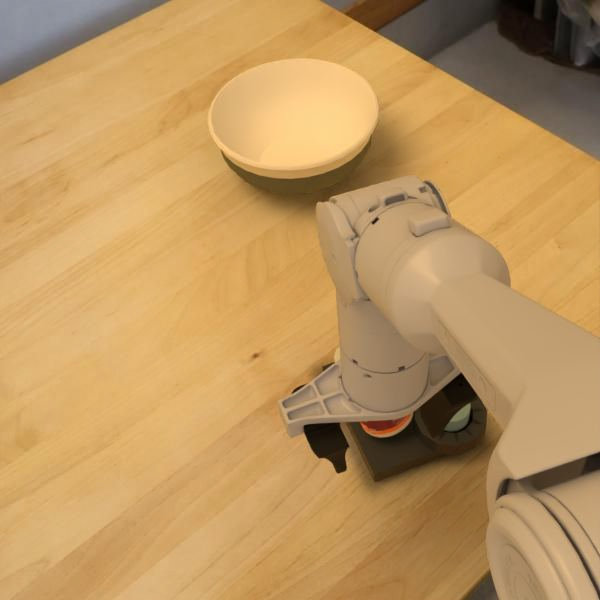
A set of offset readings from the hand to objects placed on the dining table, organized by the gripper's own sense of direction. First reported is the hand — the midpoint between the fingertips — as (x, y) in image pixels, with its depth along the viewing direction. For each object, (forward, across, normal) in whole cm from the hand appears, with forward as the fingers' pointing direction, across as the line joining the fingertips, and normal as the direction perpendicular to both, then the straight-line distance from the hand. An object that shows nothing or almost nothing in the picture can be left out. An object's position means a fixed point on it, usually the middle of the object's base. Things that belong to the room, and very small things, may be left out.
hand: (384, 443), depth 64 cm
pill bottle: (+8, -3, -6) cm, 10 cm away
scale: (+10, -5, -8) cm, 14 cm away
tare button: (+7, -8, -4) cm, 12 cm away
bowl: (+10, -8, -42) cm, 44 cm away
